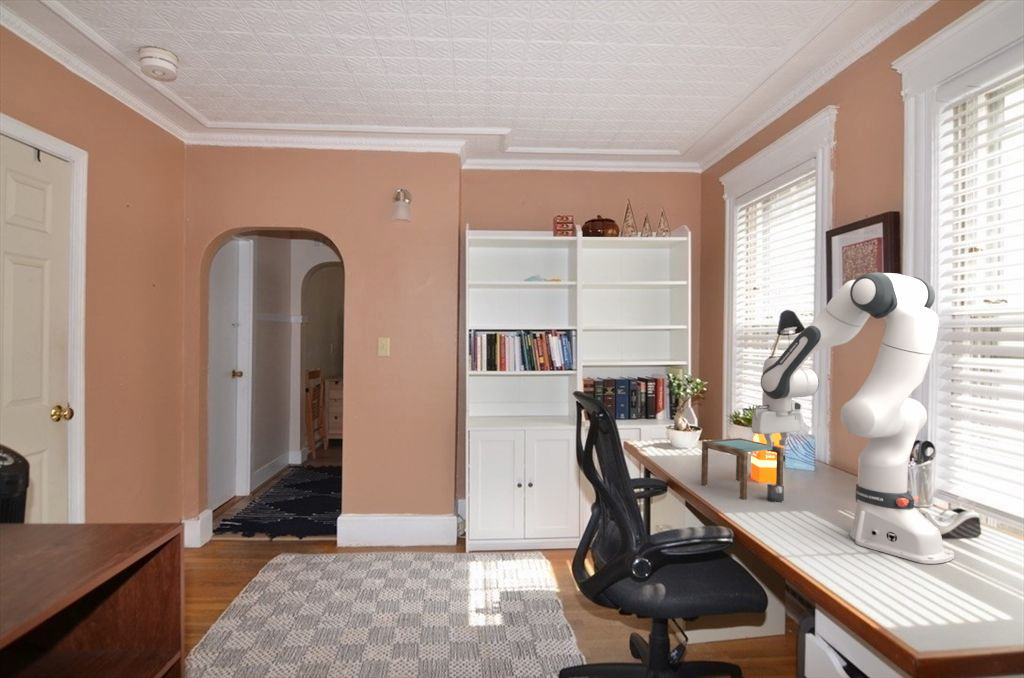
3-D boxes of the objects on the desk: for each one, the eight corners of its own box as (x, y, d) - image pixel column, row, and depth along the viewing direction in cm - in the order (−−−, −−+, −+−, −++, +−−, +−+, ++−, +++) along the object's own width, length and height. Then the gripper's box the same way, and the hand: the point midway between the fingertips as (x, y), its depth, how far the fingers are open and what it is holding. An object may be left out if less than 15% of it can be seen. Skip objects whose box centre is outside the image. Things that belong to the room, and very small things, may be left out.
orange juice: (782, 483, 203) (784, 430, 203) (759, 483, 203) (760, 429, 203) (773, 478, 211) (774, 426, 211) (750, 477, 211) (751, 426, 211)
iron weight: (786, 501, 181) (787, 486, 181) (776, 503, 179) (776, 488, 179) (773, 497, 185) (774, 482, 185) (763, 499, 183) (763, 484, 183)
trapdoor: (772, 449, 191) (772, 446, 191) (743, 452, 185) (743, 449, 185) (739, 442, 204) (739, 439, 204) (711, 444, 198) (711, 441, 198)
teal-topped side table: (782, 493, 190) (783, 447, 190) (743, 499, 182) (744, 451, 182) (738, 480, 207) (739, 438, 207) (701, 484, 199) (702, 441, 199)
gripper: (762, 406, 174) (762, 450, 174) (805, 404, 183) (805, 445, 183) (746, 404, 180) (746, 446, 180) (789, 402, 189) (788, 442, 189)
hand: (776, 446), depth 182 cm, fingers open, 5 cm apart
